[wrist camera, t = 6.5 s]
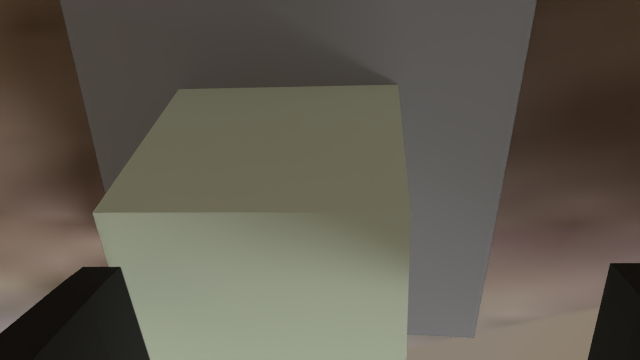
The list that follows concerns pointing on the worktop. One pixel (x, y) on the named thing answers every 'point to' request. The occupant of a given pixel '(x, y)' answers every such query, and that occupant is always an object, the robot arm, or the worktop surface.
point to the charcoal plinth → (336, 70)
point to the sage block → (267, 225)
